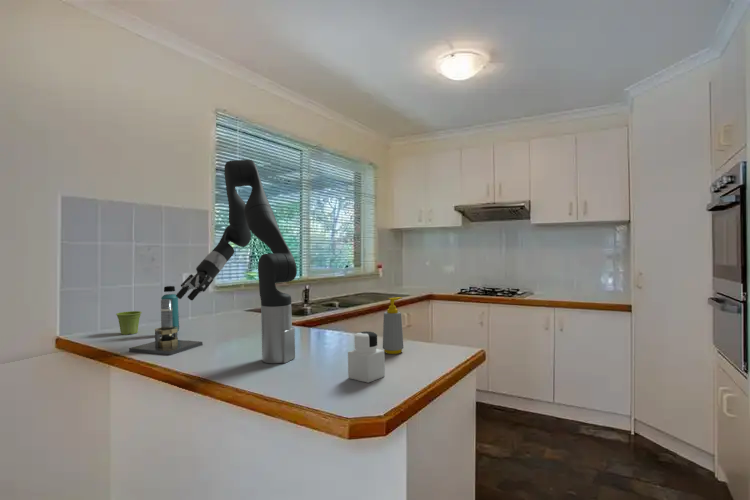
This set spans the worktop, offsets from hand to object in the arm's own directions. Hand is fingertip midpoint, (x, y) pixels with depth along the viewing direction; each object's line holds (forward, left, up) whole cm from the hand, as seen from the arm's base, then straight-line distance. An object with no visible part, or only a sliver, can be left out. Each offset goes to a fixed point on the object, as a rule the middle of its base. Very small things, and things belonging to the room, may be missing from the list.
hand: (183, 298), depth 157 cm
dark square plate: (+2, +6, -17) cm, 18 cm away
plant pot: (+39, -11, -17) cm, 44 cm away
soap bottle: (-77, -10, -17) cm, 79 cm away
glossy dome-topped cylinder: (+2, +6, -16) cm, 17 cm away
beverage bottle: (+19, -13, -17) cm, 29 cm away
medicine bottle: (-78, +18, -17) cm, 82 cm away
